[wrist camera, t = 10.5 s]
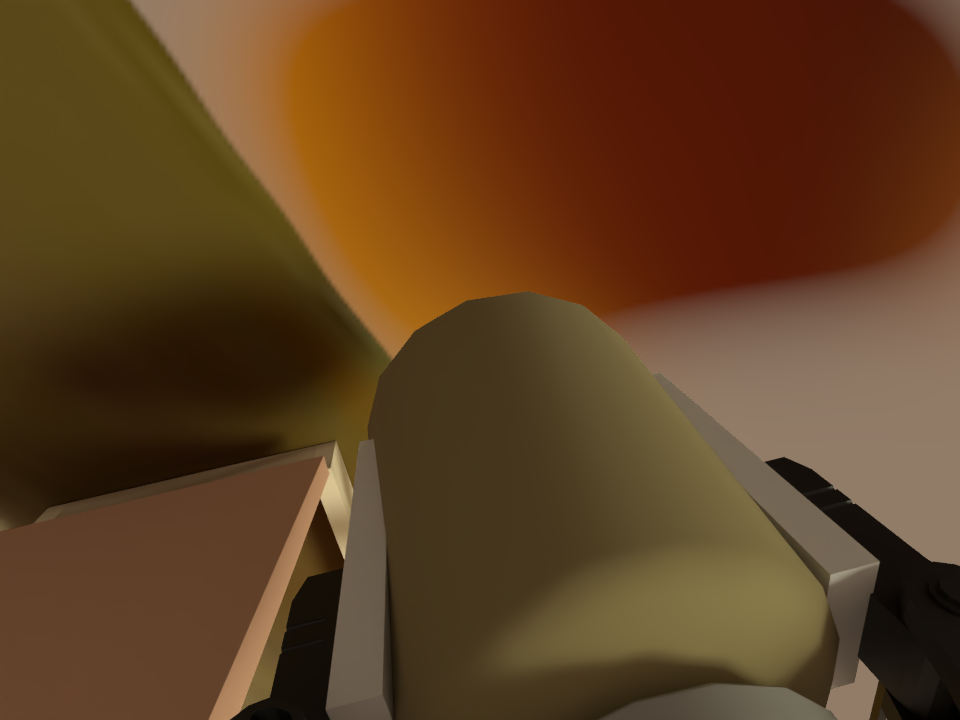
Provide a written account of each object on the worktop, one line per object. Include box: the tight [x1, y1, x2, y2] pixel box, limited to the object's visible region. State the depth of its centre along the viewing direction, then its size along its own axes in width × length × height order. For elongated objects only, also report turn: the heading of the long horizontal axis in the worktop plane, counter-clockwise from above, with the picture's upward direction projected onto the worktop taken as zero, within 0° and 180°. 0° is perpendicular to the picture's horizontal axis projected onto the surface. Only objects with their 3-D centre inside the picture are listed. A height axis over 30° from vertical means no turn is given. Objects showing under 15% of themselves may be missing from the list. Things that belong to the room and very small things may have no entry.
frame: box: [33, 441, 353, 560], centre depth 29 cm, size 20×15×2 cm
